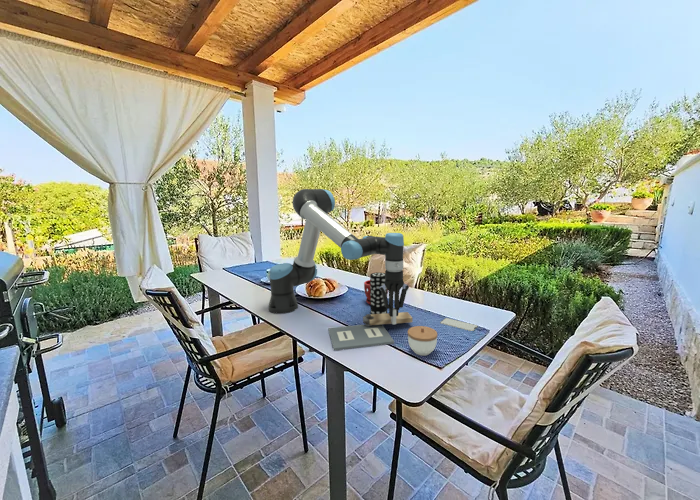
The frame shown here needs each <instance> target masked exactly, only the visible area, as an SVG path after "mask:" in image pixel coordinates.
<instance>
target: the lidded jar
mask: <svg viewBox="0 0 700 500" xmlns="http://www.w3.org/2000/svg"><path fill="white" fill-rule="evenodd" d="M407 341H408V346H409V347H410V348H411V350H412V351H413V352H414V354H416V355H418V356H424V357H425V356H428V355H430V354H431V353H432V352H433V351H434V350H435V349H436V346H437V342H438V331H437V330H435V329H434V328H432V327H430V326H425V325H418V326H417V325H414V326H411V327H409V328H408V330H407Z"/></svg>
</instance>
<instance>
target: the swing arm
mask: <svg viewBox="0 0 700 500" xmlns="http://www.w3.org/2000/svg"><path fill="white" fill-rule="evenodd" d="M413 319H414V318H413V316H412V315H411V314H410V313H409V312H407V311H404V312H403V311H402V312H398V316H396V324H404V323H406V324H407V323H408V324H409V323H413ZM362 323H364V324H370V325H380V324H382V325H393V324H392V323H391V317H390V316H389V312H387V313H384V314H371V313H368V314H366V315H364V316H363V317H362Z"/></svg>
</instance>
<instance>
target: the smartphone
mask: <svg viewBox="0 0 700 500" xmlns="http://www.w3.org/2000/svg"><path fill="white" fill-rule="evenodd" d="M439 323H440V324H441V325H445V326H449V327H453V328H456V327H457V329H460V330H463V329H464V331H467V330H468V332H471V331H474V330H475V329H476V328H477V329H478V328H479V325H478V324H474V323H470V322H465V321H461V320H458V319H457V320H456V319H452V318H449V317H445V318H444V319H442V320H441V321H440V322H439ZM477 329H476V330H477ZM476 330H475V331H476ZM475 331H474V332H475Z"/></svg>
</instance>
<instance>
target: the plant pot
mask: <svg viewBox="0 0 700 500" xmlns="http://www.w3.org/2000/svg"><path fill="white" fill-rule="evenodd" d="M363 286H364V287H363V289H364V294H365V297H366V299H365V302H366V303H367V304H368V305H370V306H371V302H370V279H369V280H366V281H364V282H363ZM387 295H389V292H388V289H387Z"/></svg>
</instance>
